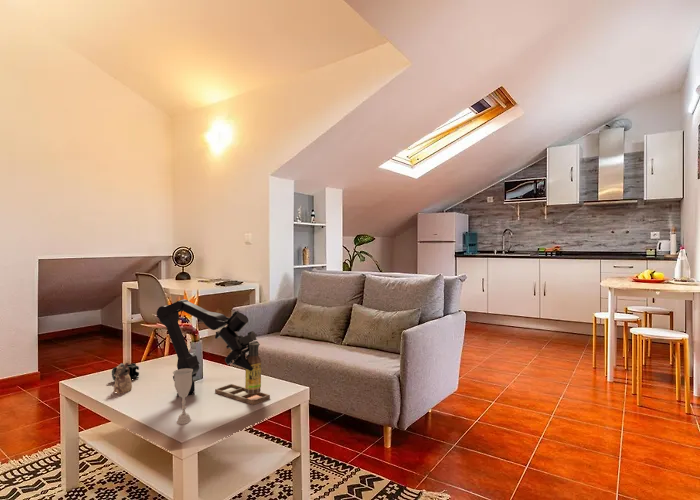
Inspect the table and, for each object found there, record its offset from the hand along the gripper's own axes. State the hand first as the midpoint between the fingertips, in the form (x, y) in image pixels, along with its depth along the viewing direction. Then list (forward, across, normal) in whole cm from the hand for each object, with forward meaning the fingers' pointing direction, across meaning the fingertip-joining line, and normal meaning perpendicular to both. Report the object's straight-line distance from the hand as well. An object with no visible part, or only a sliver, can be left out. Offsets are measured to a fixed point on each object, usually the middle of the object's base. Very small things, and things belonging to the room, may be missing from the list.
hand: (256, 367), depth 172 cm
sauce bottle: (+6, 0, +8) cm, 10 cm away
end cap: (-43, +9, +63) cm, 77 cm away
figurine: (-35, -4, +55) cm, 66 cm away
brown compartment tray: (+3, +3, +16) cm, 16 cm away
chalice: (-1, -25, +21) cm, 32 cm away
